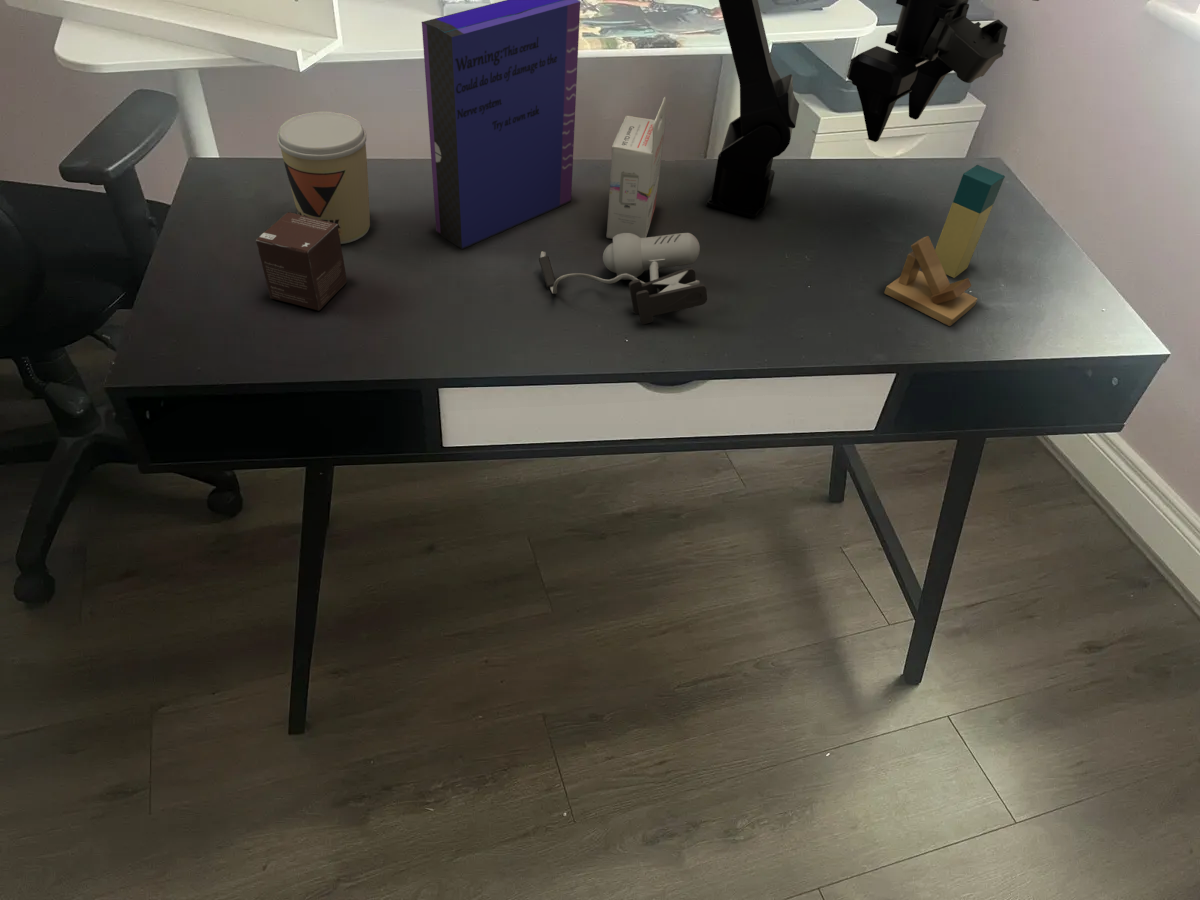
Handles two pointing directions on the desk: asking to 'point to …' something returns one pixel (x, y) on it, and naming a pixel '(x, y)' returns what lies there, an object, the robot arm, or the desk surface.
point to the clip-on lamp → (650, 254)
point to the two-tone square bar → (967, 218)
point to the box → (302, 260)
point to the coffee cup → (328, 170)
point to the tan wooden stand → (930, 286)
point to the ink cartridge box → (635, 174)
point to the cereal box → (501, 114)
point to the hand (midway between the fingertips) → (893, 129)
